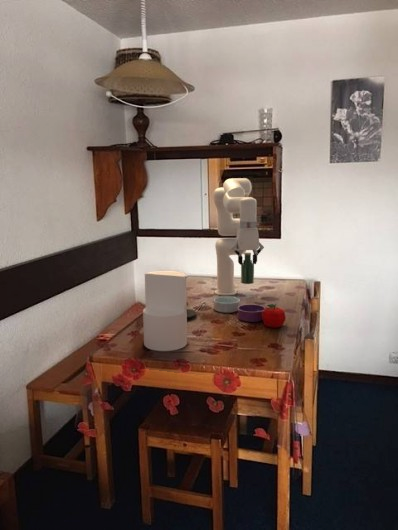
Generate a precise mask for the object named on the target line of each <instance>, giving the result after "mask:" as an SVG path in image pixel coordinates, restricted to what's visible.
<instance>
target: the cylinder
mask: <svg viewBox="0 0 398 530" xmlns="http://www.w3.org/2000/svg"><path fill="white" fill-rule="evenodd" d="M144 294H145V298H144V299H145V307H144V308H143V310H142V320H143V321H142V322H143V345H144V347H145V348H147V349H149V350H151V351H156V352H170V351H176V350H181V349H183V348H184V347H186V346H187V345H188V318H187V309H188V307H187V306H188V305H187V303H188V302H187V274H186V272H184V271H178V270H154V271H149V272H148V271H147V272H144Z"/></svg>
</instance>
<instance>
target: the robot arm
mask: <svg viewBox="0 0 398 530" xmlns="http://www.w3.org/2000/svg"><path fill="white" fill-rule="evenodd" d="M252 188H253V187H252V182H251V180H250V179H248V178H247V177H243V178H241V177H238V178H236V177H235V178H234V177H232V178H228V179H226V180H225V181H224V182H223V185H222V187H217V188H215V190H214V191H213V202H214V206H215V209H216V213H217V233H218V235H220V236H222V237H223V238H219V239H217V240H216V241H215V244H214V246H215V254H216V289H215V290H214V294H215V295H216V296H221V297H231V296H234V295H236V294H237V293H238V292H237V290H236V288H239V284H238V283H236V284H235V261H234V260H233V259H232V258H231V257H230V256H237V263H238V264H239V265H240V266H241V265H242V264H243V260H244V259H243V255H244V253H247V251H252V253H253V254H252V263H254V265H257V262H258V256H259V254H260V253H261V252H262V251H263V249H265V246H264V245H263V244H262V243H261V242H260V235H259V230H258V228H257V227H258V226H260V222H257V221H258V220H257V199H256V198H254V197H252V196H250V194H251V193H252ZM234 214H239V218H234V216H233V215H234ZM230 236H231V237H230ZM232 236H233V237H232ZM235 236H236V237H235ZM224 237H225V238H224Z"/></svg>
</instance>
